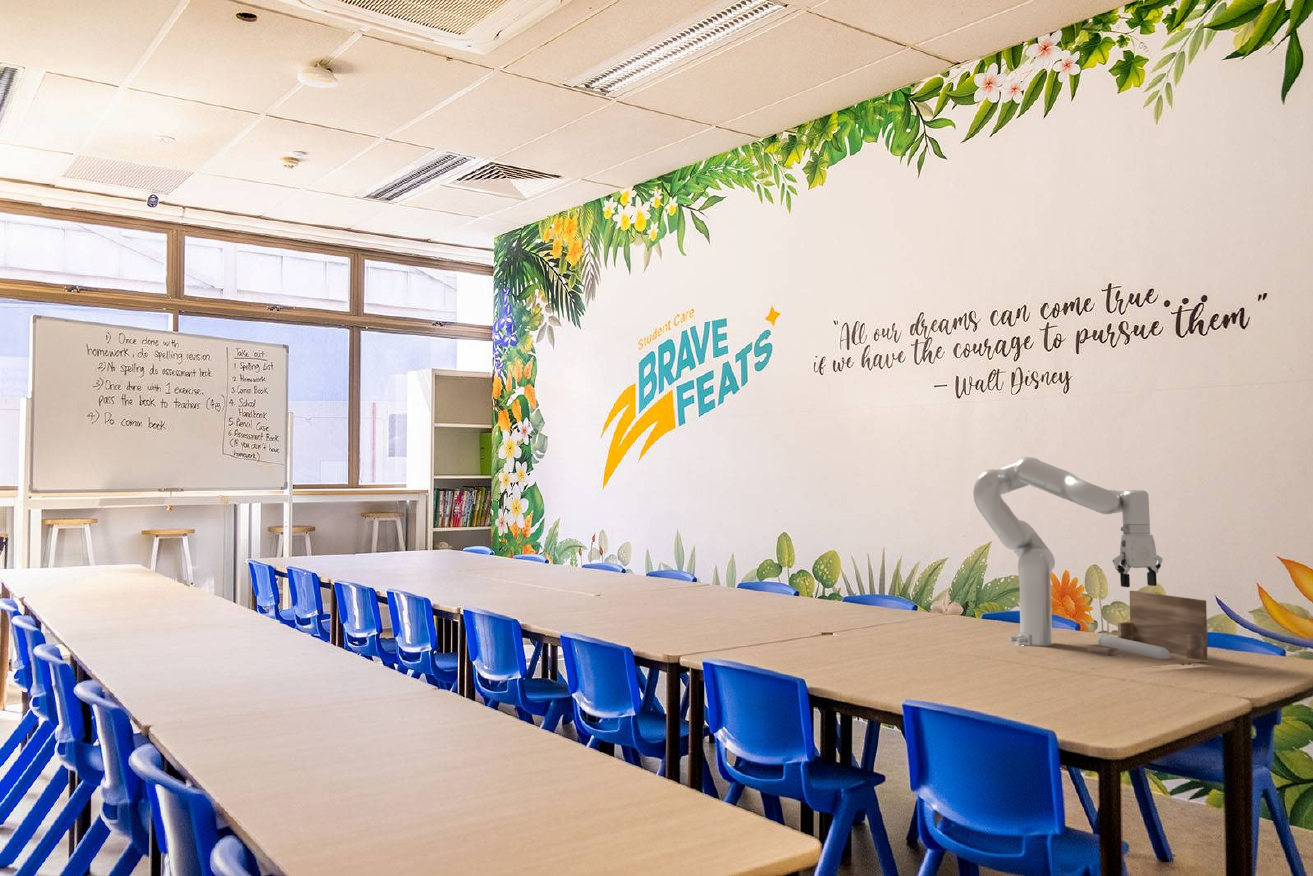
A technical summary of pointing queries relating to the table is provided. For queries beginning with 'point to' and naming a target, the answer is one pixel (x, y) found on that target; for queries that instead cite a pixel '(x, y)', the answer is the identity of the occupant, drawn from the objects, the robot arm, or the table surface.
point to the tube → (1134, 647)
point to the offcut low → (1111, 656)
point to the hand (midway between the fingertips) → (1138, 586)
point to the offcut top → (1102, 650)
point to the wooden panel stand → (1167, 623)
